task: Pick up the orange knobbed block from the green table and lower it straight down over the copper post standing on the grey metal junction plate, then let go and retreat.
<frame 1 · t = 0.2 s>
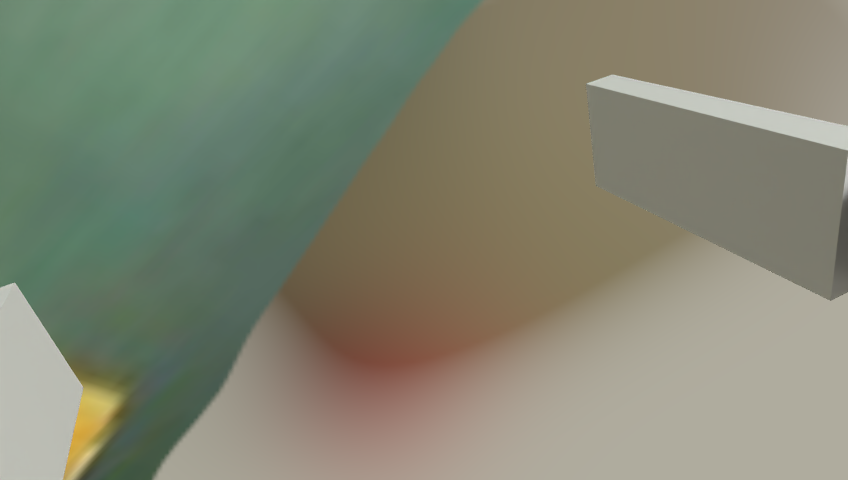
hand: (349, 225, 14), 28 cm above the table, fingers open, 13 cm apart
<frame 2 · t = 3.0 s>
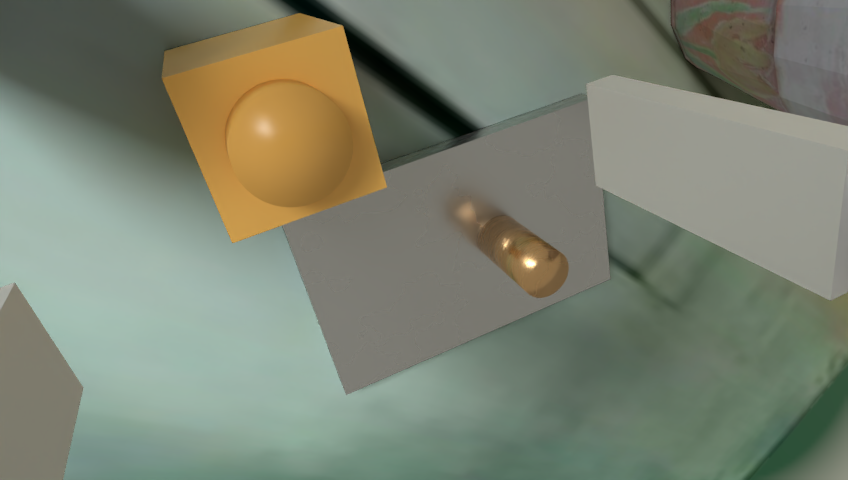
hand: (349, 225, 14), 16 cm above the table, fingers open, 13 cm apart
orange knobbed block: (257, 98, 28), on the table
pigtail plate: (458, 241, 34), on the table
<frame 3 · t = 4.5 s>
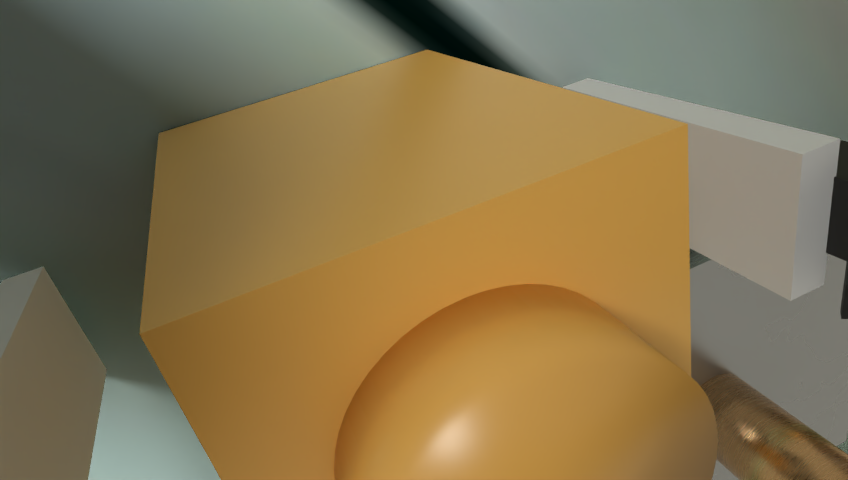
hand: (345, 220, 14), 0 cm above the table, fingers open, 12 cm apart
orange knobbed block: (339, 212, 14), on the table
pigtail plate: (641, 408, 21), on the table
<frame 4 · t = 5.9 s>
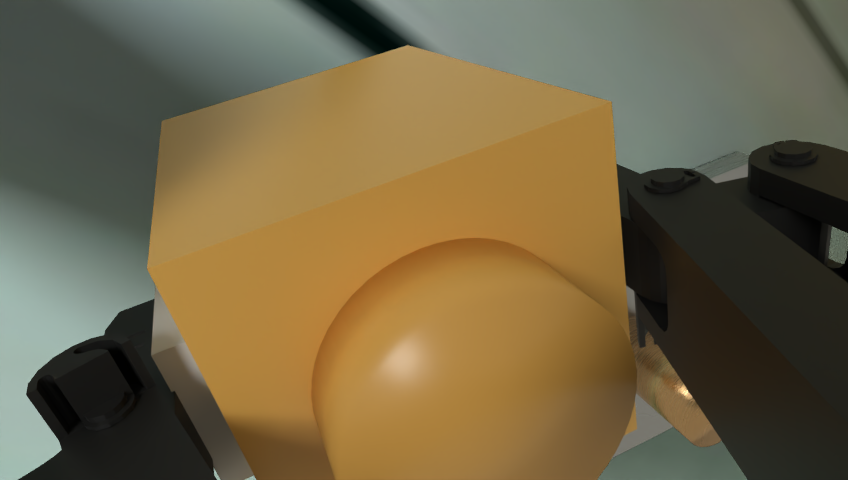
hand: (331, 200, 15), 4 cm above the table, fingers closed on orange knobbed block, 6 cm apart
orange knobbed block: (328, 195, 15), point 4 cm above the table, touching gripper
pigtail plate: (570, 347, 26), on the table
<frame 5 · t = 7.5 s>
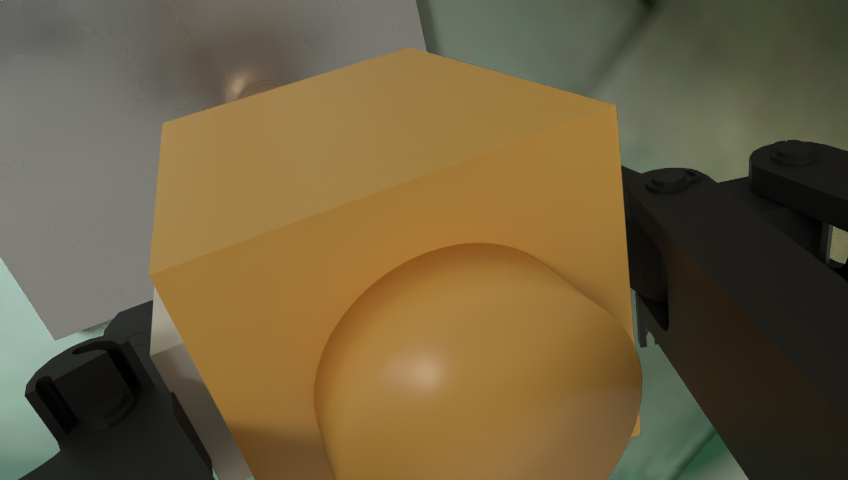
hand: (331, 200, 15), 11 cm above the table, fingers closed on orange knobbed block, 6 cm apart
orange knobbed block: (329, 198, 15), point 11 cm above the table, touching gripper
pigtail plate: (217, 123, 24), on the table
when the fingers open (2 cm above the table, at t = 9.2 s): orange knobbed block stays where it is, resting on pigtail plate.
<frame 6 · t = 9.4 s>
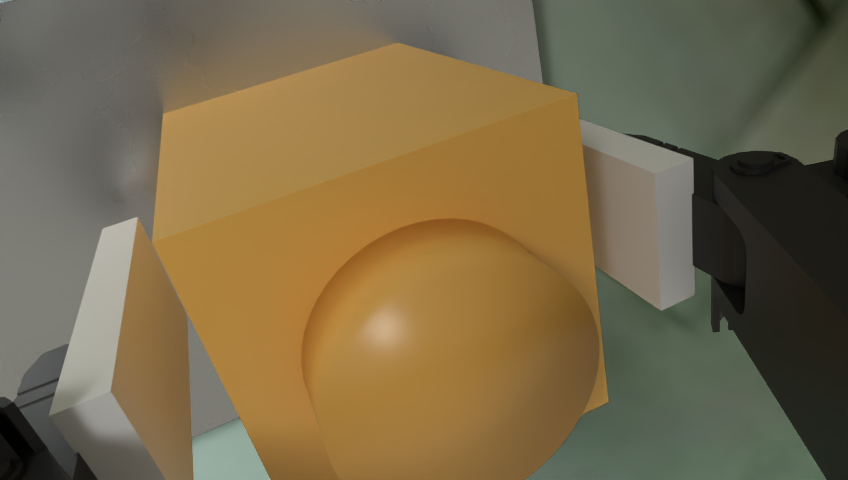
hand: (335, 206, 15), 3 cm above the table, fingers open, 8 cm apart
orange knobbed block: (322, 186, 16), point 1 cm above the table, touching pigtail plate
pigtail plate: (244, 197, 17), on the table
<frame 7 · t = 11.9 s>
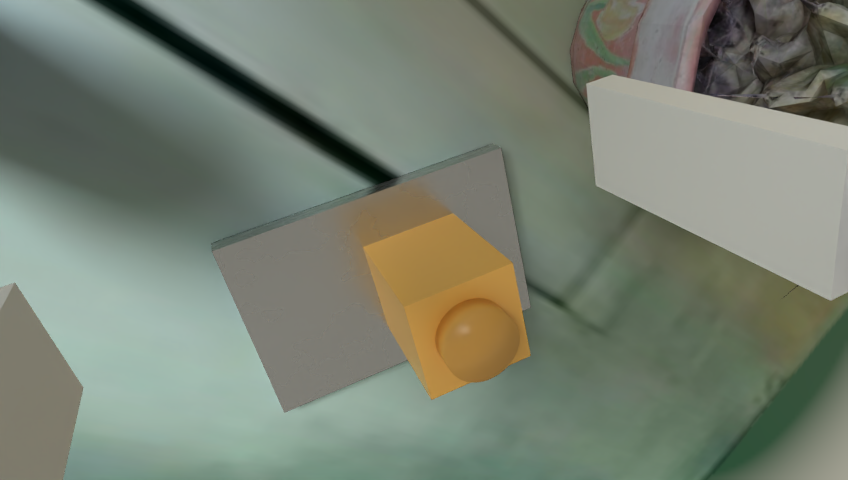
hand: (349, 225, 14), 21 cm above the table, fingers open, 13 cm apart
potted plant: (645, 42, 39), on the table
orange knobbed block: (420, 271, 38), point 1 cm above the table, touching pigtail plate
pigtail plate: (385, 275, 39), on the table
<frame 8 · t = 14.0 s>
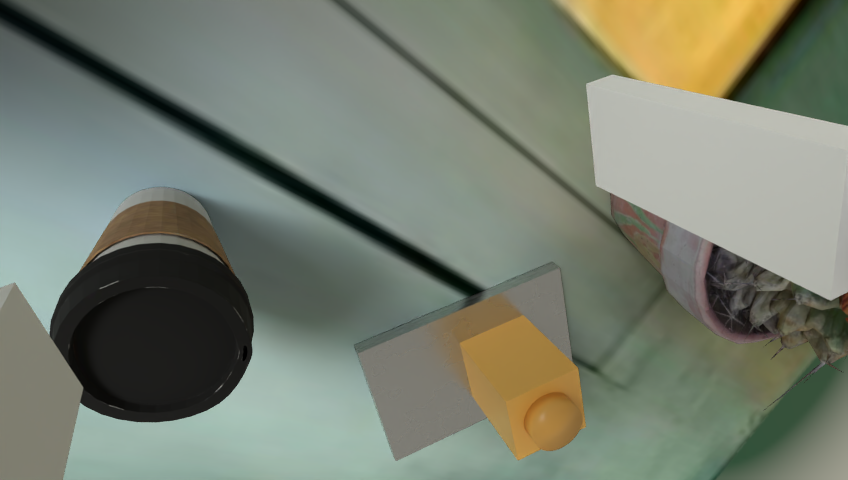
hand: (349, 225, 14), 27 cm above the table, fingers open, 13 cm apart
coffee cup: (162, 229, 39), on the table
potted plant: (664, 182, 52), on the table
orange knobbed block: (497, 356, 51), point 1 cm above the table, touching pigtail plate
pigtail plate: (470, 358, 52), on the table
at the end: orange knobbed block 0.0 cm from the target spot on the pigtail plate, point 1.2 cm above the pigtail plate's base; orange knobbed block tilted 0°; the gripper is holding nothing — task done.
